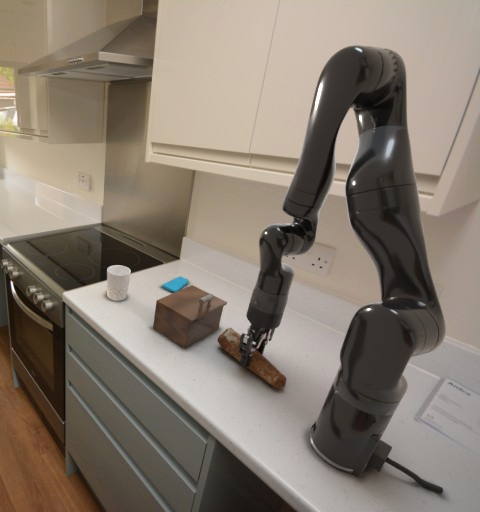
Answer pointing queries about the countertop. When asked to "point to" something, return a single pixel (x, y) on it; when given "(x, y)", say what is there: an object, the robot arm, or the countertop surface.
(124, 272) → the white cup
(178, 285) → the sponge
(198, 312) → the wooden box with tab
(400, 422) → the countertop surface
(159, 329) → the bread bin
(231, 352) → the bread
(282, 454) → the countertop surface
